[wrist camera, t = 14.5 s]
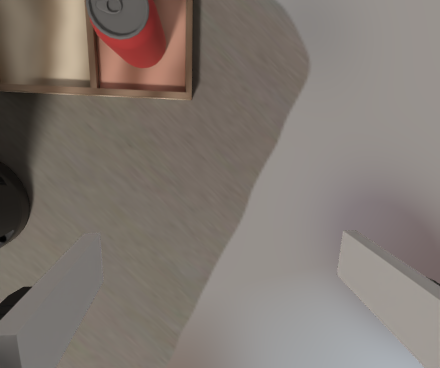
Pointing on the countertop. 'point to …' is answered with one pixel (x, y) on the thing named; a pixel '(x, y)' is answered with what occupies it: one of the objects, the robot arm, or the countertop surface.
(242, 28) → the countertop surface
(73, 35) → the caddy tray
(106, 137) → the countertop surface
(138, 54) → the beer can
